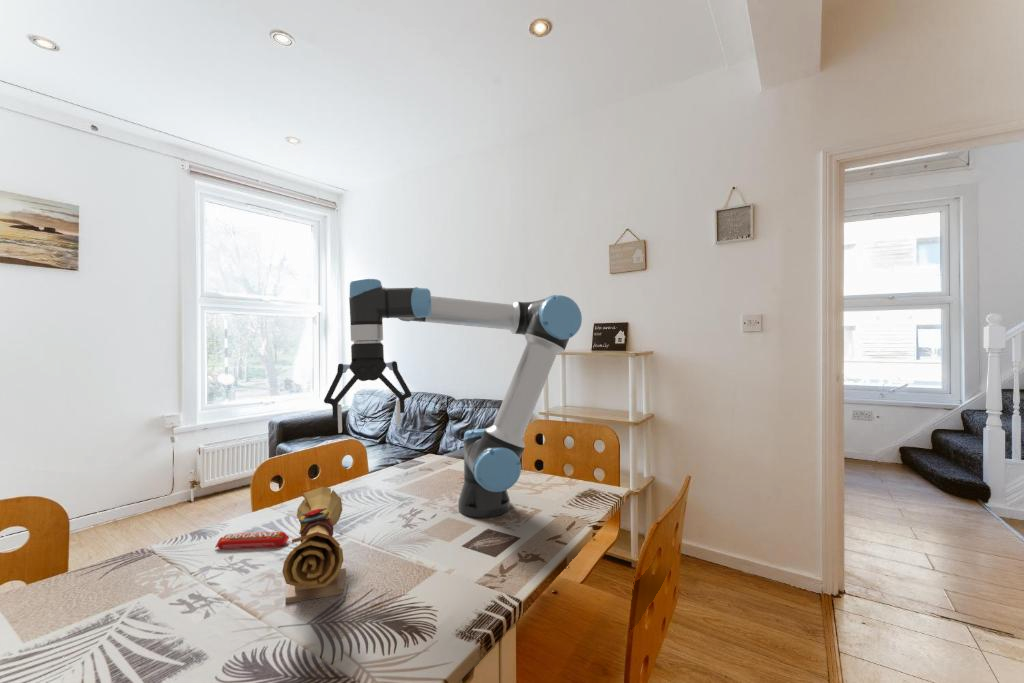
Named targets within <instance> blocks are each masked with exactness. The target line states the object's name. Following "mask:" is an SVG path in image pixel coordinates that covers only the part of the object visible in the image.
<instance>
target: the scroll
mask: <svg viewBox="0 0 1024 683" xmlns="http://www.w3.org/2000/svg"><path fill="white" fill-rule="evenodd" d="M302 497H303V498H304V499H303V500H302V502H301V503H300V504H299V506H298V507H297V511H296V517H297V519H298V522H299V523H300V529H299V532H298V534H299V535H300V537H296V538H294V539H292V540H291V544H294V543H298V542H300V543H299V544H297V545H296V546H295V547H293V549H292V550H291V551H290V552H289V553H288V555H287V557H286V558H285V559H284V562H283V567H282V572H281V573H282V575H283V578H284V581H285V583H286V585H289V586H290V585H293V586H296V587H300V588H302V587H303V586H304V585H307V589H310V588H318V587H325V586H327V585H328V584H329V583H330V582H331V581H332V580H333V579H334V578H335V577H336V576H337V575H338V574H339V571H340V569H342V566H343V564H344V554H343V553H344V552H343V548H342V547H341V544H340V542H339V543H338V540H336V538H334V537H333V536H334V526H335V525H337V523H338V522H339V520H340V519H341V515H342V512H343V502H342V498H341V497H340V496H339V494H338V493H336V491H335V490H334V489H333V490H331V488H330V487H326V486H320V487H317V488H314V489H311V490H308V491H306V492H303V493H302Z"/></svg>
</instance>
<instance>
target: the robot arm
mask: <svg viewBox="0 0 1024 683" xmlns="http://www.w3.org/2000/svg"><path fill="white" fill-rule="evenodd" d="M348 300H349V303H348V304H349V316H350V318H349V320H350V325H349V327H350V328H349V330H350V341H351V342H353V343H352V344H351V345H350V349H351V350H350V353H351V354H350V356H351V362H350V364H349V363H347V364H346V363H341V362H340V363H338V365H337V369H336V370H337V373H336V374H335V377H334V379H333V381H332V383H331V385H330V387H329V389H328V391H327V393H326V396H325V397H324V399H323V403H324V404H330V405H331V407H332V408H331V409H332V419H334V420H337V428H338V429H337V430H338V431H337V432H338V434H341V433H343V418H342V417H343V415H342V414H343V412H342V403H340V401H342V399H343V398H344V397H345V396H346V395H347V393H348V392H349V391H350V389H351V388H352V387H353V386H354V385H355V384H356V382H357V381H362V382H366V381H376V380H378V379H379V380H380V381H381V382H383V384H384V385H385V386H386V387H388V389H389V390H390V391H391V392H392V393H393V394H394V395H395V396H396V397H397V398H398V399H395V415H396V416H395V417H396V419H395V420H396V428H401V427H402V426H401V414H404V413H405V410H406V409H405V400H407V399H408V398H411V397H412V392H411V390H410V389H409V387H408V385H407V383H406V382H405V380H404V378H403V376H402V374H401V372H400V371H399V367H398V366H399V365H398V362H397V361H396V360H392V361H390V362H385V356H384V344H383V342H381V341H383V340H384V327H383V323H384V322H383V319H398V320H400V321H402V322H418V323H419V322H420V323H422V322H423V323H433V324H445V325H454V326H465V327H476V328H477V327H478V328H487V329H496V330H497V329H498V330H506V331H507V330H509V331H510V332H511V333H512V334H514V335H523V336H524V337H525V340H526V346H525V348H524V350H523V351H522V355H521V357H520V359H519V361H518V364H517V367H516V369H515V371H514V373H513V376H512V377H511V381H510V383H509V386H508V387H507V388H508V389H507V390H506V393H505V395H504V398H503V400H502V402H501V405H500V407H499V409H498V412H497V414H496V417H495V420H494V421H493V424H492V425H491V426H489V427H486V428H475V429H468V430H466V431H465V432H464V435H463V459H464V460H463V466H464V467H463V472H464V473H463V476H464V477H463V478H464V479H463V485H462V488H461V490H460V495H459V498H458V502H457V503H458V504H457V505H458V506H457V508H458V511H459V512H460V514H463V515H464V516H467V517H471V518H480V519H482V518H493V517H497V516H498V517H499V516H501V515H503V514H506V513H507V512H508V511H510V508H511V500H510V496H509V493H508V490H509V489H511V488H513V486H515V484H517V482H518V480H519V479H520V477H521V474H522V464H521V463H522V462H521V458H522V455H523V454H524V450H525V448H526V444H525V442H524V435H525V433H526V430H527V428H528V425H529V423H530V421H531V418H532V416H533V414H534V410H535V408H536V406H537V403H538V401H539V399H540V397H541V394H542V391H543V389H544V387H545V384H546V382H547V380H548V377H549V374H550V372H551V370H552V367H553V365H554V361H555V360H556V357H557V356H558V355H560V354H562V353H564V352H565V350H566V348H567V345H568V343H569V340H570V339H571V338H574V336H575V335H576V334H577V333H578V332H579V330H581V329H580V328H581V327H582V326H581V325H582V321H583V317H582V312H581V309H580V308H579V305H578V303H577V302H575V301H574V299H572V298H570V297H568V296H566V295H561V294H560V295H559V294H558V295H556V294H553V295H549V296H547V297H546V298H543V299H538V300H535V301H526V302H525V301H515V302H513V303H512V304H510V303H509V304H508V303H499V302H491V301H490V302H489V301H480V300H471V299H462V298H453V297H444V296H443V297H441V296H435V295H434V296H433V295H432V293H431V290H430V288H426V287H418V286H415V287H392V288H391V287H383V285H382V281H381V280H379V279H375V278H355V279H353V280H351V282H350V283H349V297H348ZM386 368H388V369H389V370H390V371H392V372H393V374H394V376H395V378H396V379H397V382H398V383H399V385H400V387H401V389H402V390H403V392H404V393H402V392H400V390H398V388H397V387H396V386H394V384H393V383H392V382H391V381H390V380H389V379H388V378H387V377H386V376H385V375H384V374H383V372H384V371H385V369H386ZM348 370H350V371H351V373H353V376H352V377H351V378H350V380H348V382H347V383H346V385H345V386H343V388H342V389H341V391H339V393H338V394H337V395H336V396H335V398H332V397H333V395H334V393H335V391H336V389H337V386H338V384H339V382H340V380H341V378H342V377H343V374H345V373H346V372H348Z"/></svg>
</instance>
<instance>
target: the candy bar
mask: <svg viewBox="0 0 1024 683" xmlns="http://www.w3.org/2000/svg"><path fill="white" fill-rule="evenodd" d="M289 539H290V536H289V535H288V534H286V532H284V531H264V532H240V533H238V532H237V533H228V534H225V535H224V536H223V537H220V538H219V539H218V541H217V543H216V544H215V548H218V549H219V550H223V551H225V550H228V551H229V550H230V551H231V550H247V549H249V550H250V549H252V550H253V549H269V548H280V547H282V546H284V545H285V546H286V544H287V542H288V540H289Z"/></svg>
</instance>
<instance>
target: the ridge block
mask: <svg viewBox="0 0 1024 683" xmlns="http://www.w3.org/2000/svg"><path fill="white" fill-rule="evenodd" d="M337 542H338V541H337ZM338 543H339V544H340V542H338ZM346 575H347V568H346V567H343V568H340V571H339V574H338V575H337V576H336V577H335V578H334V579H333V580H332V581H331V582H330V583H329V584H328V585H327V586H325V587H318V588H310V589H307V585H304V586H303V587H302V588H300V587H296V586H293V585H289V588H288V591H287V593H286V596H285V604H289V603H296V602H301V601H307V600H313V599H319V598H325V597H330V596H331V597H332V596H337V595H344V588H345V582H346Z"/></svg>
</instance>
